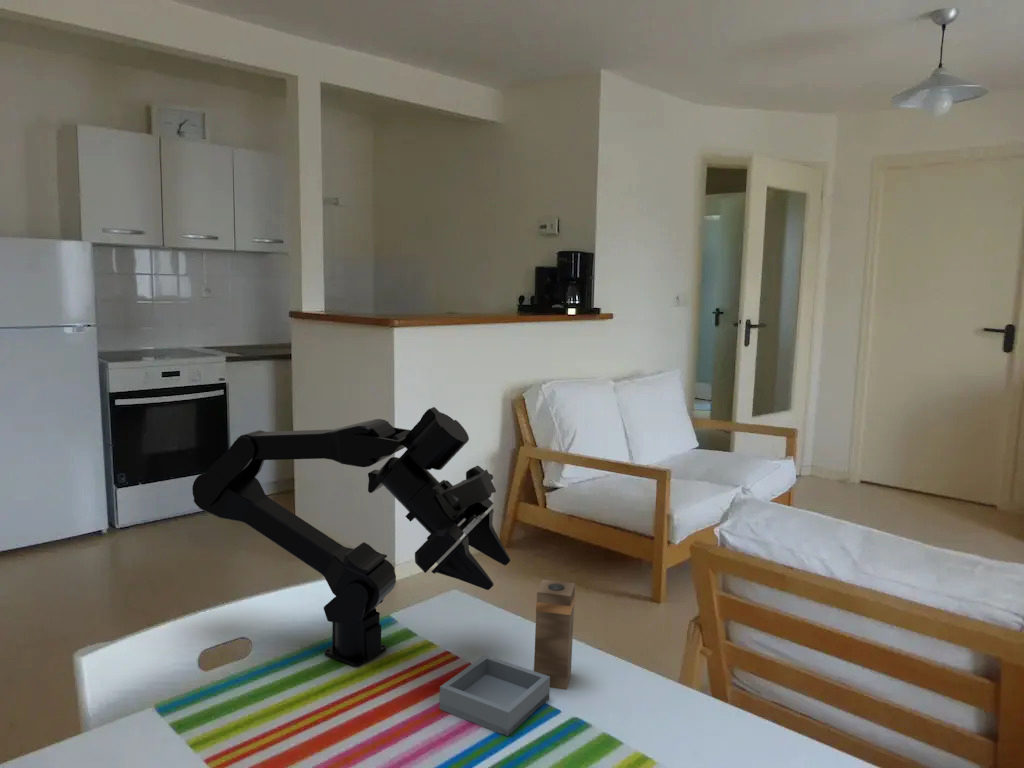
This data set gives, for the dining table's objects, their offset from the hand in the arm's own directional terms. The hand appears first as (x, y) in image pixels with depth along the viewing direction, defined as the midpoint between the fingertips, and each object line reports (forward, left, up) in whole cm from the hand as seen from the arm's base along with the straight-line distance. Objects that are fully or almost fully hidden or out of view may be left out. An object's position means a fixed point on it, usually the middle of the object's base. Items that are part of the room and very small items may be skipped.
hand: (500, 574), depth 101 cm
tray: (+4, -6, -14) cm, 16 cm away
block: (+7, +3, -14) cm, 16 cm away
